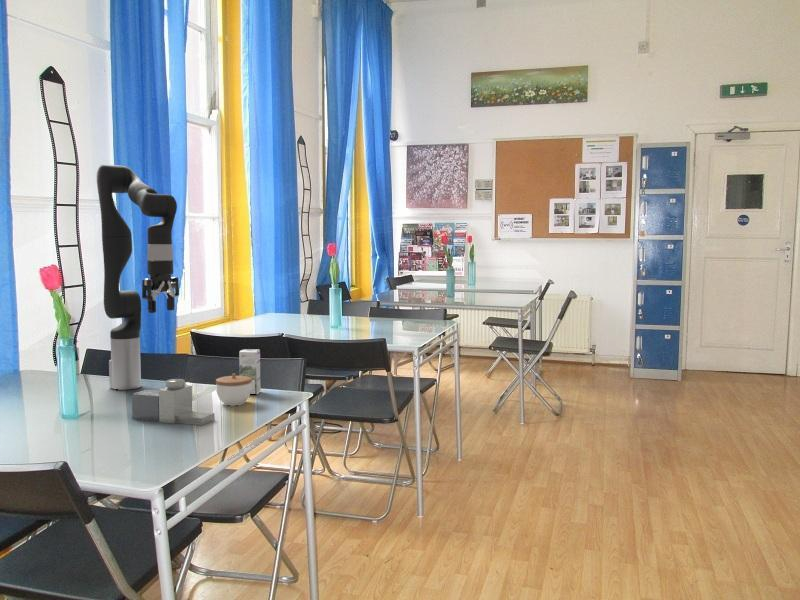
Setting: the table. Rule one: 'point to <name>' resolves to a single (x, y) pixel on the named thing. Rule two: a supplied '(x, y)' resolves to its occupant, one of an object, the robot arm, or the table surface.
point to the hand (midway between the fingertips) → (161, 311)
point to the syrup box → (251, 367)
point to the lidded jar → (233, 389)
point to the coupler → (180, 405)
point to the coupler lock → (145, 405)
